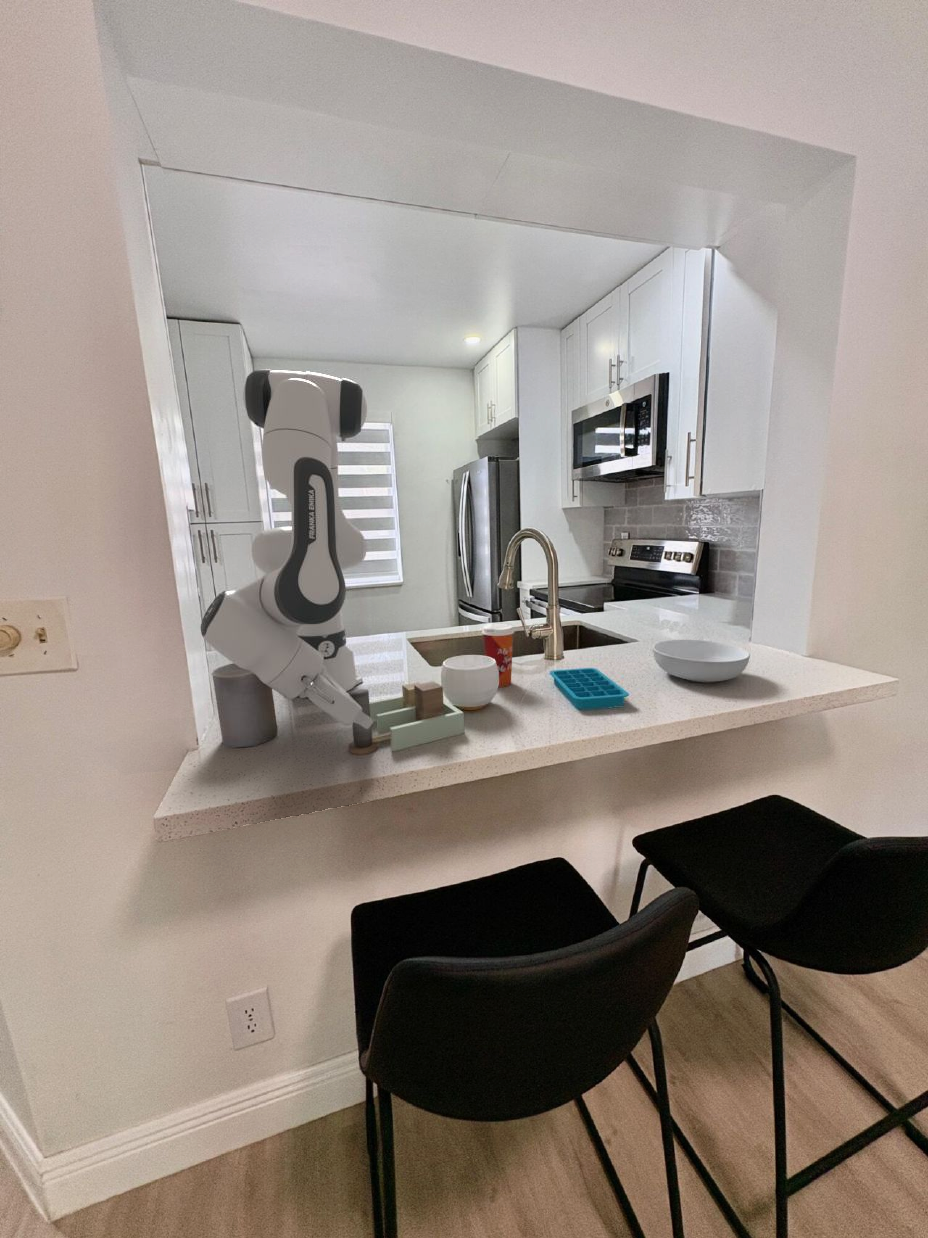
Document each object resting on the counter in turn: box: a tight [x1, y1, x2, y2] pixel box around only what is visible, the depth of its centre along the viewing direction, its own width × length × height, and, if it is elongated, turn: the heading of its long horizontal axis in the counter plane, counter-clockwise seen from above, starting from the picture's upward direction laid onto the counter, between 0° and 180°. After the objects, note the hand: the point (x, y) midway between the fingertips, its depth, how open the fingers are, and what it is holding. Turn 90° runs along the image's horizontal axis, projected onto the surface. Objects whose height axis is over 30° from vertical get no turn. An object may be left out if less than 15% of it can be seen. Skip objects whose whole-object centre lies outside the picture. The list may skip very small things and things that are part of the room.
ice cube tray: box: [549, 667, 630, 711], centre depth 111 cm, size 12×20×3 cm, turn 6°
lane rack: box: [369, 694, 465, 752], centre depth 95 cm, size 15×14×4 cm
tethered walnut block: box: [348, 680, 444, 756], centre depth 89 cm, size 5×18×10 cm, turn 119°
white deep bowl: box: [440, 654, 499, 711], centre depth 105 cm, size 12×12×10 cm
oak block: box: [401, 681, 421, 708], centre depth 99 cm, size 4×4×7 cm
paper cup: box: [481, 623, 515, 688], centre depth 119 cm, size 8×8×14 cm
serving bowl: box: [652, 639, 751, 683], centre depth 119 cm, size 21×21×7 cm
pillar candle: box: [211, 662, 278, 749], centre depth 93 cm, size 10×10×15 cm
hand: (361, 715), depth 86 cm, fingers open, 8 cm apart
